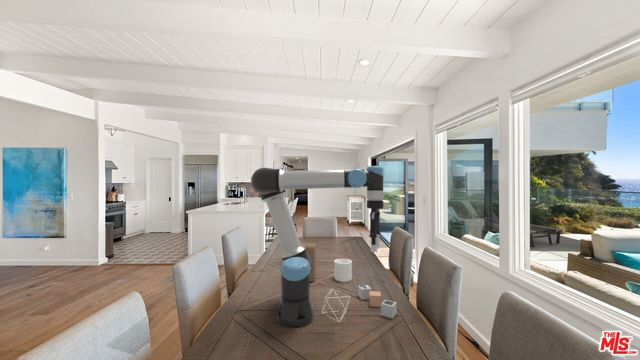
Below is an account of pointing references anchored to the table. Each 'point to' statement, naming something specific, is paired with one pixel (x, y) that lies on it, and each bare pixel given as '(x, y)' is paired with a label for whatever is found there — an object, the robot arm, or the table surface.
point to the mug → (343, 270)
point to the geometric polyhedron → (340, 301)
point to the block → (312, 254)
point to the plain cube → (375, 299)
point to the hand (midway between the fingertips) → (375, 249)
